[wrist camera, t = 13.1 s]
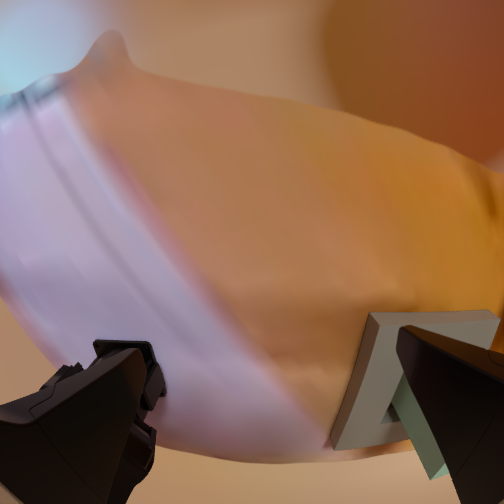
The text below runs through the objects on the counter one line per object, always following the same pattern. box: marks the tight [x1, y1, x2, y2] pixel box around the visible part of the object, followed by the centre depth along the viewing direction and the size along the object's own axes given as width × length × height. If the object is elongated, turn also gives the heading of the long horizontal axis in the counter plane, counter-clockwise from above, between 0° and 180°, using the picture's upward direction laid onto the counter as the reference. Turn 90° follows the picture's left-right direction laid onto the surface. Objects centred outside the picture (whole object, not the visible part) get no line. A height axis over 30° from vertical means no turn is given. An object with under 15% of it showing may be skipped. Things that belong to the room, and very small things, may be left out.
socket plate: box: [330, 310, 501, 451], centre depth 23 cm, size 16×16×2 cm
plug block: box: [391, 372, 449, 480], centre depth 18 cm, size 5×5×12 cm
